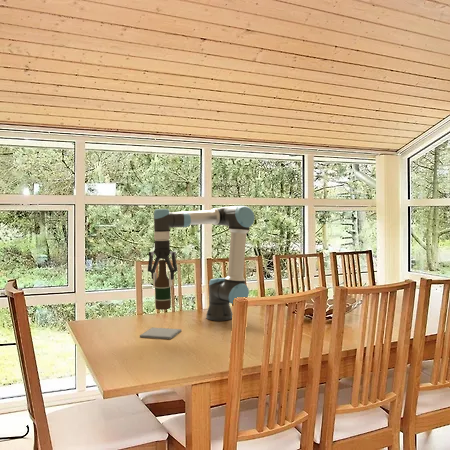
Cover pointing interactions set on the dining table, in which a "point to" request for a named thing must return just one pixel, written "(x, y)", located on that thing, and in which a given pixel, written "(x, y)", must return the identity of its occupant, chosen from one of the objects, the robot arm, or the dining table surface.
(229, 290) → the robot arm
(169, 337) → the slate trivet
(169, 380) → the dining table surface
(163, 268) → the beer bottle
